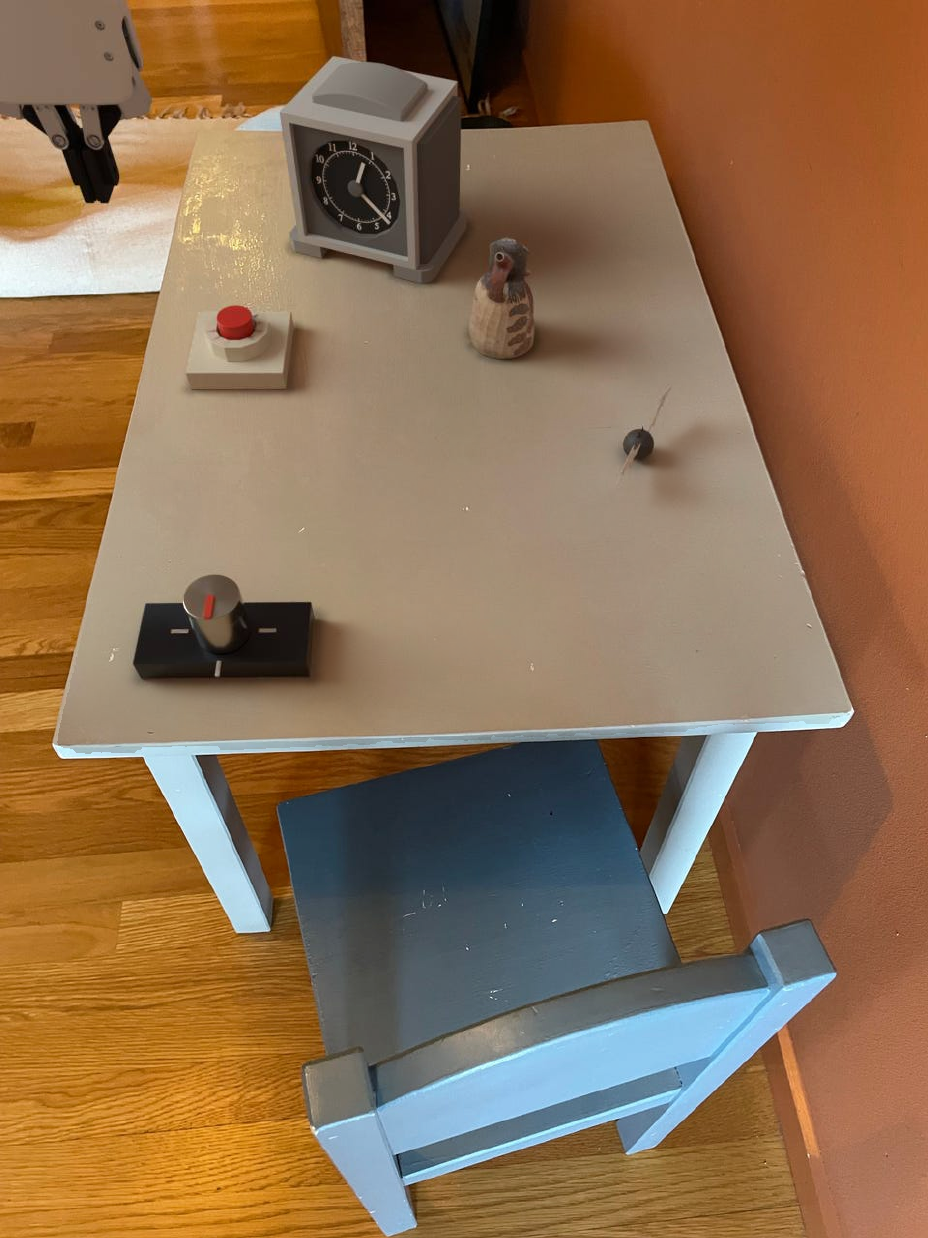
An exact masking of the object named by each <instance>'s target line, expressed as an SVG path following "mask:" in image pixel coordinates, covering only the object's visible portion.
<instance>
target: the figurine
mask: <svg viewBox="0 0 928 1238" xmlns="http://www.w3.org/2000/svg"><path fill="white" fill-rule="evenodd" d="M529 254H530V251H529V249H528V248H527V247H526V246H524V245H522V244H521V243H519V242H518V241H516V240H515V239H513V238H510V237H504V238H501V239H497V240H495V241H493V242H491V244H489V267H490V270H489V271H488V272H486V273H484V274H483V275H482V276H481V277H480V279H479V280H478V281H477V284H476V286H475V289H474V292H473V299H472V303H471V309H470V318H469V323H468V333H469V338H470V342H471V344H472V346H473V347H474V349H475V350H476V351H477V352H478V353H480V354H482V355H483V356H485V357H489V358H492V359H497V360H510V359H517V358H519V357H521V356H522V355H525V354H526V353H527V352H529V351H530V349H531V348H532V347H533V345H534V339H535V333H536V323H535V318H534V317H535V316H534V309H535V307H534V295H533V291H532V289H531V287H530V285H529V284H528V282H527V281H526V280H525V278H526V277H527V278H528V277H529V276H530V275H531V271H530V270H529V269H527V266H528V265H527V264H528V259H529Z"/></svg>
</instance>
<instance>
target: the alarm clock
mask: <svg viewBox="0 0 928 1238" xmlns="http://www.w3.org/2000/svg"><path fill="white" fill-rule="evenodd" d="M458 83H459V82H458V81H457V80H453V79H447V78H442V77H438V76H433V75H428V74H424V73H417V72H414V71H409V70H404V69H400V68H398V67H395V66H391V65H387V64H385V63H380V62H371V61H359V60H354V59H350V58H345V57H340V56H335V55H332V56H331V58H329V60H328V61H327V62H326V63H325V64H324V65H323V66H322V67H321V68H320V69H319V70H318V71H317V72H315V75H313V76H312V77H311V79H309V80H308V82H307V83H306V84H305V85H303V87H302V88H301V89H299V91H298V92H297V93H296V94H295V95H294V96H293V97H292V98H291V99H290V100H289V101H288V102H287V103H286V104H285V106H284V107H283V108H282V109H281V110H280V111H279V117H280V125H281V131H282V137H283V145H284V151H285V159H286V165H287V172H288V179H289V185H290V193H291V200H292V207H293V212H294V220H295V225H294V226H293V228H292V229H291V230H290V232H289V241H290V246H291V250H292V251H294V252H295V253H297V254H298V253H299V254H302V255H306V256H310V257H315V258H318V259H322V258H323V257H324V256H325V255H326V253H328V251H329V250H333V251H336V252H341V253H345V254H349V255H353V256H357V257H362V258H365V259H368V260H374V261H378V262H381V263H385V264H390V265H392V266H393V277H394V278H398V279H402V280H407V281H410V282H414V283H419V284H429V283H430V282H433V281H435V278H436V276H437V275H438V273H439V272H440V270H441V268H442V267H443V265H444V264H445V263H446V261H447V260H448V258H449V256H450V255H451V253H452V251H453V250H454V249H455V247H456V245H457V243H458V242H459V241H460V239H461V237H462V236H463V234H464V233H465V231H466V230H467V215H466V212H464V211H463V210H462V209H461V164H462V163H461V162H462V161H461V156H462V155H461V152H462V99H463V98H462V97H461V96H458V85H459V84H458Z"/></svg>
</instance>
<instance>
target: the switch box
mask: <svg viewBox="0 0 928 1238" xmlns="http://www.w3.org/2000/svg"><path fill="white" fill-rule="evenodd" d="M245 307H246V306H245ZM246 308H248V309H249V310H250V311H251V313H252V318H253V322H254V327H255V329H254V332H253V334H252V335H251V336H250V337H247V338H244V339H242V340H227V339H225V338H224V337H222V335H221V334H220V331H219V327H218V323H217V314H218V313H219V312H220V311H221V310H199V311H198V314H197V320H196V324H195V328H194V333H193V338H192V342H191V347H190V351H189V355H188V360H187V365H186V369H185V377H186V379H187V383H188V386H189V389H190V390H286V389H287V384H288V377H289V368H290V360H291V352H292V345H293V337H294V329H295V327H294V326H295V325H294V320H293V314H292V311H291V310H257V309H253V308H251V307H246Z"/></svg>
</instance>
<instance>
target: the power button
mask: <svg viewBox="0 0 928 1238" xmlns="http://www.w3.org/2000/svg"><path fill="white" fill-rule="evenodd" d="M248 308H249V307H248ZM248 308H246V306H243V305H240V304H239V305H237V304H236V305H229V306H225V307H224V308H221V309H220V310H219V311H220V312H219V313H218V314H217V323H218V327H219V331H220V334H221V335H222V337H224V338H225V339H227V340H242V339H244V338H247V337H250V336H251V335H252V334H253V332H254V329H255V327H254V322H253V318H252V313H251V311H250V310H249V309H248Z"/></svg>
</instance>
